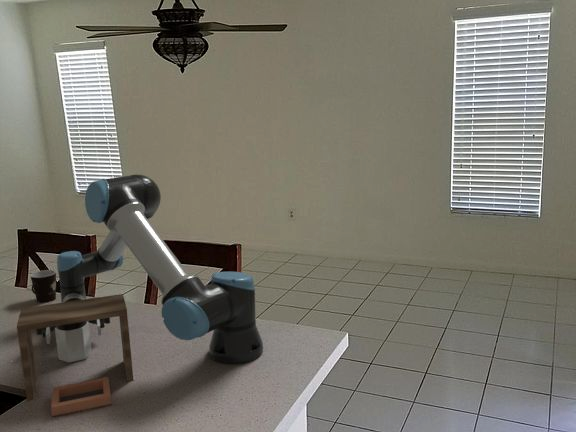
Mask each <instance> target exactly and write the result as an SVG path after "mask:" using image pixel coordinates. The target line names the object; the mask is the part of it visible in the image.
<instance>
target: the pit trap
mask: <svg viewBox="0 0 576 432" xmlns="http://www.w3.org/2000/svg"><path fill="white" fill-rule="evenodd" d="M109 379H110V378H109V376H108V377H101V378H96V379H91V380H90V379H89V380H86V381H80V382H74V383H70V384H69V383H68V384H65V385H60V386H53V387H52V390H51V391H52V393H51V394H52V395H51V404H50V405H51V407H50V408H51V415H52V416H51V417H52V418H56V417H60V416H65V415H71V414H75V413H76V414H77V413H79V412H83V411H84V412H85V411H89V410H95V409H99V408H103V407H104V408H105V407H108V406H112V396H111V386H110V380H109Z"/></svg>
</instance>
